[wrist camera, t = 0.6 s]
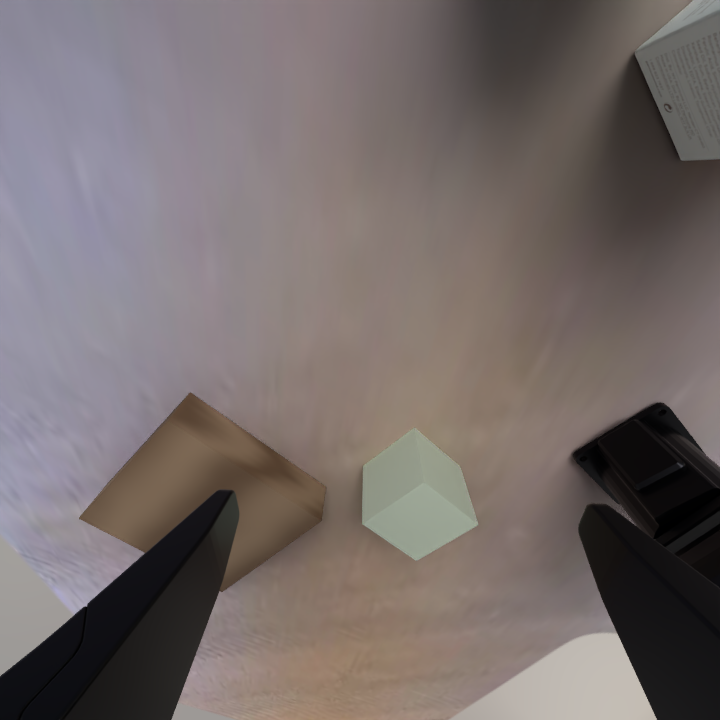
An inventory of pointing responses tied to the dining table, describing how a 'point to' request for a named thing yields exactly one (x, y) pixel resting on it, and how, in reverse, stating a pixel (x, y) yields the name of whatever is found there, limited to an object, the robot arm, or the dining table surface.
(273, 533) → the walnut plinth
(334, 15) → the dining table surface
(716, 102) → the small box
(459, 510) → the sage block
